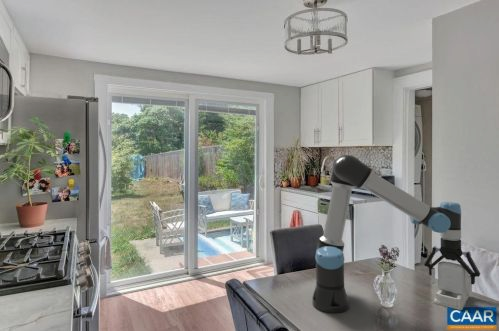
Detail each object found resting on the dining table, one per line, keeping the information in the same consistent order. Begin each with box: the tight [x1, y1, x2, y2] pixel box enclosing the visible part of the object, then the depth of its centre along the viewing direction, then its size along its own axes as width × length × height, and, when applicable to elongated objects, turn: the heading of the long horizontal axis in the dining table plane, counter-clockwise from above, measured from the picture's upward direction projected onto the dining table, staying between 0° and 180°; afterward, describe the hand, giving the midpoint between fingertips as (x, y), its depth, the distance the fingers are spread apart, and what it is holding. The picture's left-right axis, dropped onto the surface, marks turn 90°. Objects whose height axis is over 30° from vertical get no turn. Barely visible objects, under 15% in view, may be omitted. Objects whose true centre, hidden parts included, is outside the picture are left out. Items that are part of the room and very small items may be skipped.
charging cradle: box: [433, 259, 470, 311], centre depth 134 cm, size 10×18×14 cm, turn 136°
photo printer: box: [437, 261, 466, 295], centre depth 133 cm, size 10×4×12 cm, turn 39°
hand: (451, 287), depth 133 cm, fingers open, 13 cm apart
